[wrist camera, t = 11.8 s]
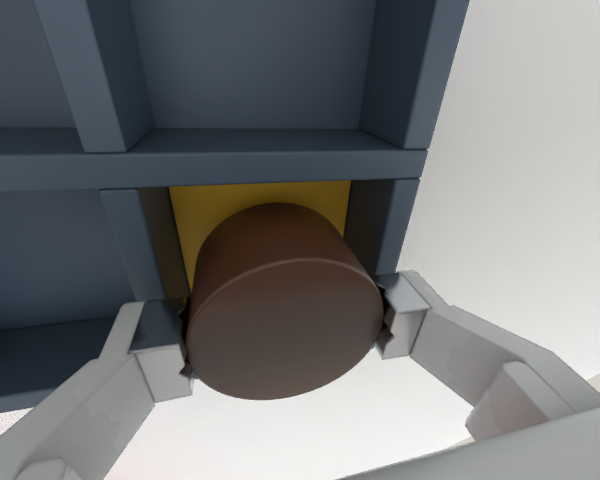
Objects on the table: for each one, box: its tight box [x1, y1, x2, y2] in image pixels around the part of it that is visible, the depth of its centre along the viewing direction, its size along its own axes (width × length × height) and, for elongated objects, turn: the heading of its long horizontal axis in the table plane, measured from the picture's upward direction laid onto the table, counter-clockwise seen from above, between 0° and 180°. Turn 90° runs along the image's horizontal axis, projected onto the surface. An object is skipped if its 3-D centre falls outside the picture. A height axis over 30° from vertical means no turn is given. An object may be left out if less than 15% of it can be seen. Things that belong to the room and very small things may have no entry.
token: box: [185, 202, 384, 400], centre depth 8 cm, size 5×5×3 cm
